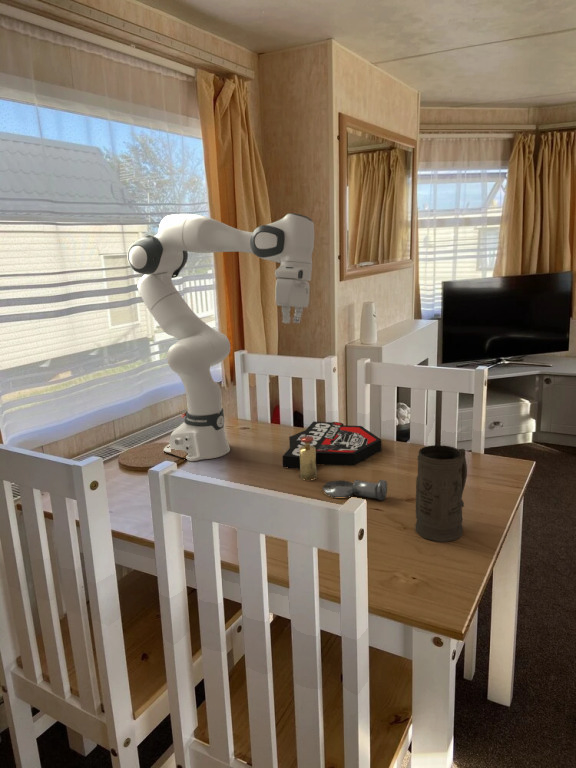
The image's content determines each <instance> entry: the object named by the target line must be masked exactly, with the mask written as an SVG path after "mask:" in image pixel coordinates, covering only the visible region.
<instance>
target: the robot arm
mask: <svg viewBox="0 0 576 768" xmlns="http://www.w3.org/2000/svg"><path fill="white" fill-rule="evenodd" d="M158 226H159V227H158V232H157V234H155V235H154V234H151V233H150V234H149V233H148V234H147V235H146V236H144V237H142V238H139V239H137V240H135V242H133V243H131V244H130V246H129V248H128V250H127V253H126V254H127V255H126V256H127V257H126V258H127V259H126V260H127V262H128V265H129V267H130V268H131V269H132V270H133V272H135V273H138V274H139V275H142V277H140V279H139V280H138V282H137V289H138V290H137V291H138V293H139V295H140V296H141V299H142V301H143V303H144V304H145V307H146V308H147V309H148V311H149V313H150V314H151V316H152V317H153V318H154V320H155V321H156V323H157V324H158V326H159V327H160V328H161V329H162V332H164V333H165V334H167V335H169V336H171V337H173V338H175V339H177V340H178V341H177V342H175V343H174V344H172V345H171V346H170V347H169V348H168V351H167V354H166V360H167V364H168V366H169V368H170V369H171V371H173V373H175V374H177V375H178V376H179V378H180V380H181V382H182V385H183V387H184V391H185V397H186V404H187V406H186V407H187V411H185V412H184V413H181V414H180V416H181V418H184V420H183V422H182V423H181V424H180V425H178V426H177V427H176V428H175V429H174V430H173V431H172V432H171V434H170V437H169V444H167V445H165V447H164V448H163V451H165V452H171V449H175V450H182V451H185V452H187V453H188V455H187V456H186V459H187V460H186V461H189V462H197V461H201V460H210V459H211V460H212V459H215V458H219V457H223V456H225V455H227V454H229V452H230V450H231V447H230V445H229V442H228V439H227V435H226V430H225V411H224V408H223V406H222V405H223V403H222V402H223V401H222V391H221V386H220V384H219V383H218V382H216V381H214V379H213V377H212V374H211V367H213V366H217V365H218V364H220V363H222V362H223V361H224V360H225V359H226V358H227V357H228V356H229V355H230V353H231V343H230V340H229V338H228V336H227V335H225V334H224V333H222V332H221V331H217V330H216V329H214V328H212V327H210V326H209V324H208V323H206V322H205V321H203V320H202V318H200V317H199V316H198V315H197V314H196V313H195V312H194V311H193V309H192V308H191V307H190V306H189V304H188V303H187V301H186V300H185V299H184V298H183V296H182V295H181V294H180V292H179V291H178V289H177V288H176V286H175V285H174V283H173V281H172V279H175V278H177V277H178V276H179V274H180V273H181V271H182V270H183V268H184V267H185V266H186V264H187V262H188V258H189V253H195V254H196V253H198V254H199V253H200V254H208V253H209V254H211V253H213V254H214V253H226V252H227V253H229V252H233V253H234V252H238V253H248V254H253V255H255V256H256V257H258V258H259V259H262V260H265V261H270V262H275V263H277V264H280V265H279V267H278V268H276V269H275V272H274V277H275V278H276V281H275V294H274V296H275V297H274V298H275V305H276V306H278V307H279V306H281V315H282V321H281V322H282V323H283V324H290V323H291V313H290V312H291V309H292V308H294V315H293V318H292V322H293V323H294V324H300V323H301V318H302V314H303V312H304V308H307V309H308V307H309V304H310V291H311V290H310V289H311V287H310V282H311V280H312V272H313V271H312V269H313V259H312V256H313V252H314V250H315V248H314V247H315V224H314V221H313V220H312V218H310V217H308V216H306V215H303V214H300V213H294V212H289V213H287V214H286V215H285V216H283V217H282V218H280V219H278V220H276V221H274V222H272V223H267V224H263V225H262V224H261V225H258V226H257V227H256V228H254V230H253V231H247V230H241V229H238V228H236V227H233V226H230V225H229V224H226V223H224V222H222V221H219V220H217V219H215V218H211V217H208V216H204V215H201V214H194V213H193V214H192V213H179V214H178V213H175V214H170V215H166V216H165V217H163V218H162V220H161V221H160V223H159V225H158ZM188 252H189V253H188ZM169 446H170V447H169ZM167 447H169V448H167Z"/></svg>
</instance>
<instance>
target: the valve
mask: <svg viewBox="0 0 576 768" xmlns="http://www.w3.org/2000/svg"><path fill="white" fill-rule="evenodd" d="M312 441H313V437H312V436H303V437H301V442H304V443H305V446H302V447H300V448H299V451H300V469H299V470H300V471H299V472H300V479H301V478H302V479H305V480H311V479H314V478H316V477H317V465H316V448H315V447H314V446H310V442H312ZM302 479H301V480H302ZM316 479H317V478H316Z"/></svg>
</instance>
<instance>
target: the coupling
mask: <svg viewBox="0 0 576 768" xmlns="http://www.w3.org/2000/svg"><path fill="white" fill-rule="evenodd" d="M322 486H323V487H322V488H323V489H322V490H323V491H324V492H325V493H326V494H327V495H330V496H332V497H349V496H350V497H349V498H352V497H353V496H352V495H354V496H358V497H364V498H368V499H373V500H374V499H375V500H377V501H385V499H386V497H387V493H388V481H387V480H385V479H379V480H378V482H371V481H365V480H360V479H355V480H354V481H353V482H351V481H348V480H332V481H328V482H326V483H325V484H324V485H322ZM323 491H322V492H323Z"/></svg>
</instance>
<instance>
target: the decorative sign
mask: <svg viewBox="0 0 576 768" xmlns="http://www.w3.org/2000/svg"><path fill="white" fill-rule="evenodd" d="M303 436H312V437H313V441H312V442H310V446H314V447H315V448H316V464H320V465H321V464H324V466H347V467H348V466H349V467H350V466H351V467H354V466H356V465H359V464H360V463H362V462H363V461H366V460H368V459H369V458H371V457H373V456H375V455H376V454H379V453H380V452H382V439H381V438H379V437H378V436H377V435H376V434H374V433H372V432H371V431H369V430H368V429H367V428H365V427H364V426H362V425H344V423H342V422H340V421H339V422H338V421H332V422H329V421H312V422H311V423H310V424H309V426H308V427H307V428H306V429H304V430H303V431H300V432H298V433H295V434H293V435H291V436H289V437H288V438H289V440H288V441H289V448H288V449H287V450H286V452H285V453H284V454H283V455H282V468H283V467H288V468H287V469H290V468H298V469H297V470H300V451H299V448H300V447H302V446H305V443H304V442H301V437H303Z"/></svg>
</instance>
